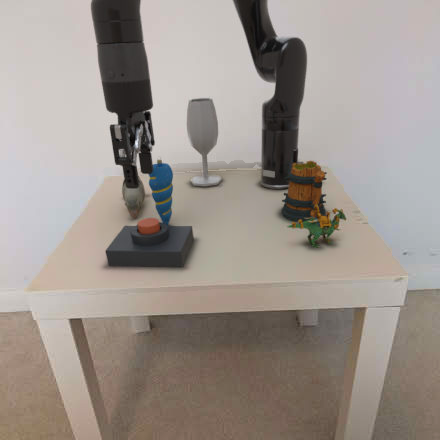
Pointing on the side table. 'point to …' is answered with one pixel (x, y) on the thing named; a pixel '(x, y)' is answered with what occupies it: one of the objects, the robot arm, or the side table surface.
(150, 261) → the buzzer
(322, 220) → the figurine
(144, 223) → the button
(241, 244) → the side table surface
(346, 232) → the side table surface
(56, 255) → the side table surface
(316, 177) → the mug
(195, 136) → the wineglass
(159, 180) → the ornament
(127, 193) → the decorative bird
